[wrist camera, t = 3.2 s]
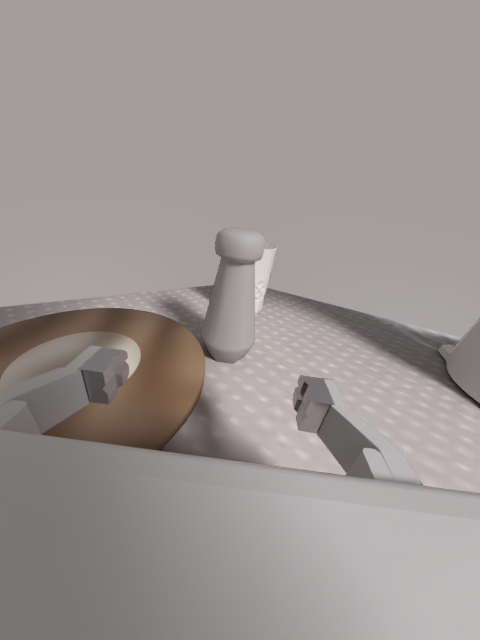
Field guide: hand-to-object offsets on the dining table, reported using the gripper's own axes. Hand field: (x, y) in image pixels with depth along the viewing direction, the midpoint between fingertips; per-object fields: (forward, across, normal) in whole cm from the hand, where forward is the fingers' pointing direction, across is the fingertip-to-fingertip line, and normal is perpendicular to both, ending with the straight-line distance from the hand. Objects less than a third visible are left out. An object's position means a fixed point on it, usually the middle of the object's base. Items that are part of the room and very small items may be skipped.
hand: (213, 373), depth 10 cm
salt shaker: (+12, 0, +8) cm, 15 cm away
